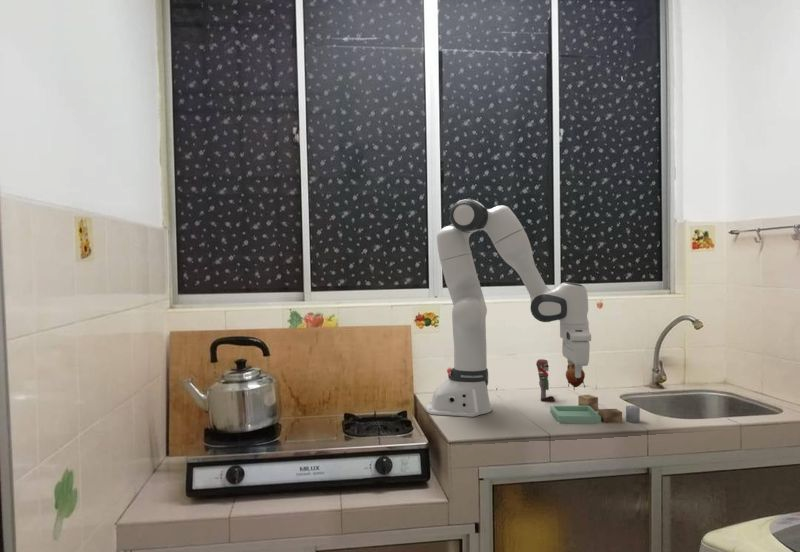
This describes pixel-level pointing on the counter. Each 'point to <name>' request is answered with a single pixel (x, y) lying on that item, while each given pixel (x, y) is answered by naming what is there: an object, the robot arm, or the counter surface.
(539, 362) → the toy
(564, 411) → the tray
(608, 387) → the counter surface
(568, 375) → the pot
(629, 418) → the blue-grey cube
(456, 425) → the counter surface
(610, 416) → the walnut block
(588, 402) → the oak cube
